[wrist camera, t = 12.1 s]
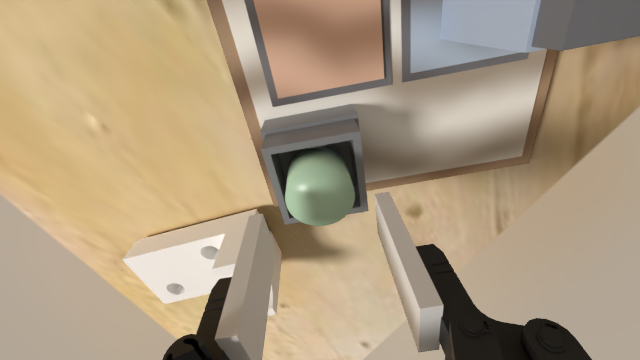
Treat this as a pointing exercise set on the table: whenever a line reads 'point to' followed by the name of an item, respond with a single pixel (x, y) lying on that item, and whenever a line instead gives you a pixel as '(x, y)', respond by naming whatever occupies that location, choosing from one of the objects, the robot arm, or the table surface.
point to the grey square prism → (539, 23)
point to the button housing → (310, 132)
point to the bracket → (195, 259)
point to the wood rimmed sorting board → (386, 83)
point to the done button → (319, 187)
